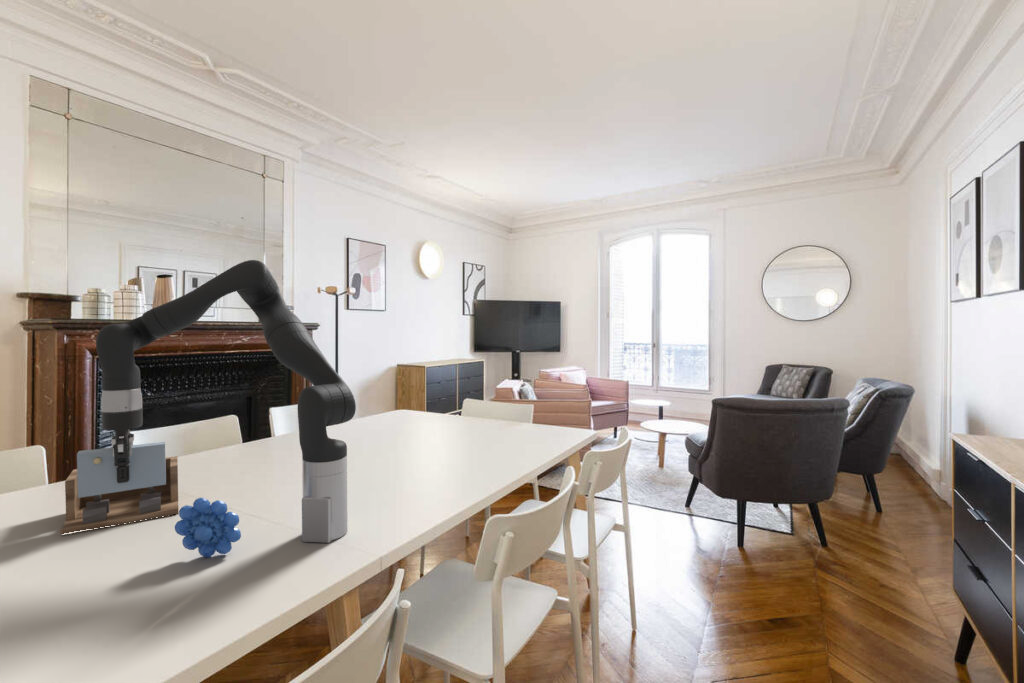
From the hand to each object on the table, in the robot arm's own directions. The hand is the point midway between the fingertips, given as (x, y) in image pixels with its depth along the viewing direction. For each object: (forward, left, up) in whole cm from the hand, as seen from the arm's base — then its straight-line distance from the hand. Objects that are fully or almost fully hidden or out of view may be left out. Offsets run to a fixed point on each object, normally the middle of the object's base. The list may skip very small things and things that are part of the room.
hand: (123, 479), depth 113 cm
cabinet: (+3, +3, -9) cm, 10 cm away
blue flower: (-17, -33, -10) cm, 39 cm away
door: (0, 0, -2) cm, 2 cm away
